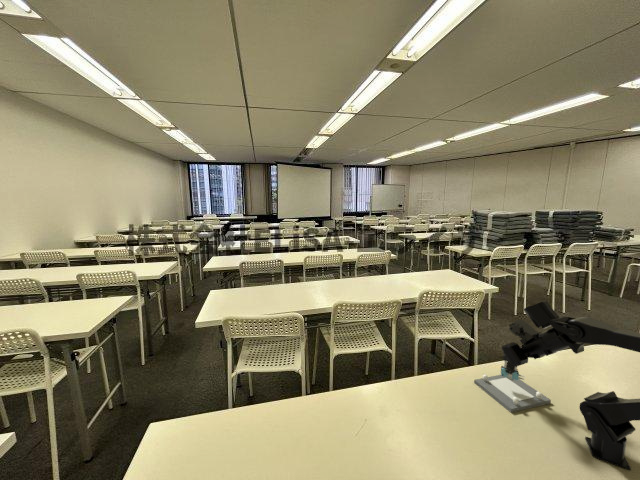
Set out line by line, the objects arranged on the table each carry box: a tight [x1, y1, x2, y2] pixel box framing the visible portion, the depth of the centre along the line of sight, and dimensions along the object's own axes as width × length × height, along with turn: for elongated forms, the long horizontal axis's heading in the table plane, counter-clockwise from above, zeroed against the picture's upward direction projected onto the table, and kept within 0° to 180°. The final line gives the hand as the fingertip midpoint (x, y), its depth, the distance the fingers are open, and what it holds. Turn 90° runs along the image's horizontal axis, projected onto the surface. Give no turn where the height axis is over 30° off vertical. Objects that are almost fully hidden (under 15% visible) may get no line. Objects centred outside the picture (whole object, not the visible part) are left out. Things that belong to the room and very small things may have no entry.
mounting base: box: [473, 374, 552, 413], centre depth 87 cm, size 14×16×3 cm
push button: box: [500, 348, 525, 381], centre depth 86 cm, size 7×5×10 cm
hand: (509, 357), depth 87 cm, fingers closed on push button, 5 cm apart
